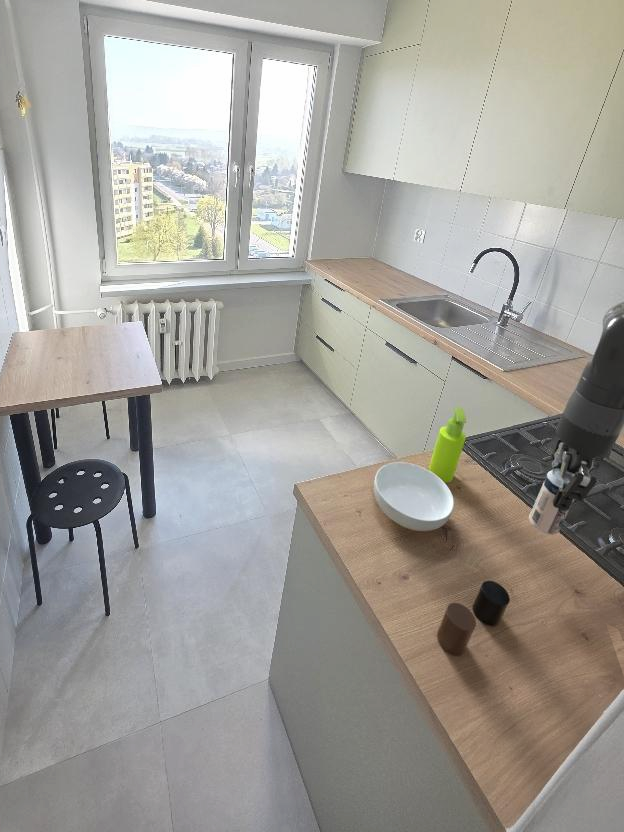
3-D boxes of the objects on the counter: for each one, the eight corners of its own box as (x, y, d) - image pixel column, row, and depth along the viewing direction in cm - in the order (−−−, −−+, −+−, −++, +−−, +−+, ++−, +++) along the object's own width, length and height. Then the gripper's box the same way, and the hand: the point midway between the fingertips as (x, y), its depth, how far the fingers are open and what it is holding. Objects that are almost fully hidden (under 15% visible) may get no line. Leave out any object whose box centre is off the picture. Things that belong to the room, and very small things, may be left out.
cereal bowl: (356, 491, 101) (360, 469, 99) (411, 477, 107) (417, 455, 104) (402, 552, 87) (409, 528, 84) (463, 532, 92) (472, 508, 89)
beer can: (557, 541, 75) (581, 491, 70) (526, 526, 78) (547, 477, 73) (558, 523, 78) (582, 475, 74) (529, 510, 81) (549, 462, 76)
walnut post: (464, 634, 73) (475, 609, 70) (465, 661, 69) (476, 635, 66) (437, 623, 74) (446, 598, 72) (436, 648, 71) (446, 622, 68)
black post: (498, 607, 77) (508, 586, 75) (501, 631, 74) (511, 609, 71) (472, 597, 79) (480, 576, 76) (473, 619, 75) (482, 598, 73)
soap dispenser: (429, 481, 105) (448, 417, 97) (427, 463, 112) (445, 401, 103) (454, 488, 104) (476, 423, 96) (451, 469, 110) (471, 406, 102)
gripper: (637, 453, 61) (592, 535, 68) (606, 403, 73) (571, 477, 80) (575, 437, 64) (538, 518, 70) (555, 391, 76) (526, 464, 82)
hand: (556, 496), depth 75 cm, fingers closed on beer can, 4 cm apart
